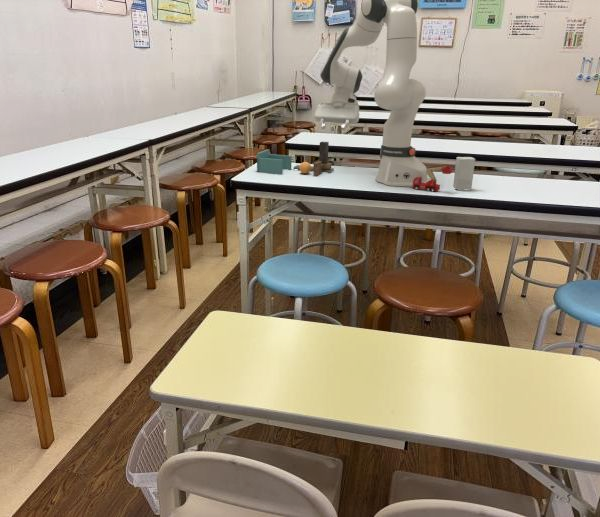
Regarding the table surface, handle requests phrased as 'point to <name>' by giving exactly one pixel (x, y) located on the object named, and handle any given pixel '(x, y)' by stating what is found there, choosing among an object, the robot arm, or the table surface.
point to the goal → (272, 162)
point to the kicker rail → (321, 169)
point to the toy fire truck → (432, 183)
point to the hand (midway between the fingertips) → (332, 128)
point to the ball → (305, 167)
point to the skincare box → (464, 172)
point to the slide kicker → (322, 159)
